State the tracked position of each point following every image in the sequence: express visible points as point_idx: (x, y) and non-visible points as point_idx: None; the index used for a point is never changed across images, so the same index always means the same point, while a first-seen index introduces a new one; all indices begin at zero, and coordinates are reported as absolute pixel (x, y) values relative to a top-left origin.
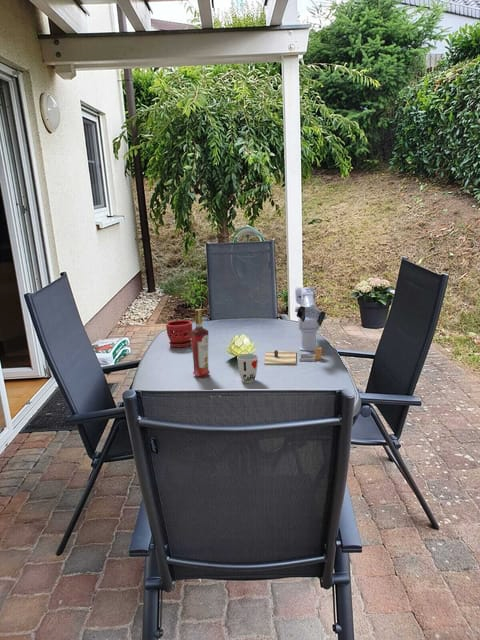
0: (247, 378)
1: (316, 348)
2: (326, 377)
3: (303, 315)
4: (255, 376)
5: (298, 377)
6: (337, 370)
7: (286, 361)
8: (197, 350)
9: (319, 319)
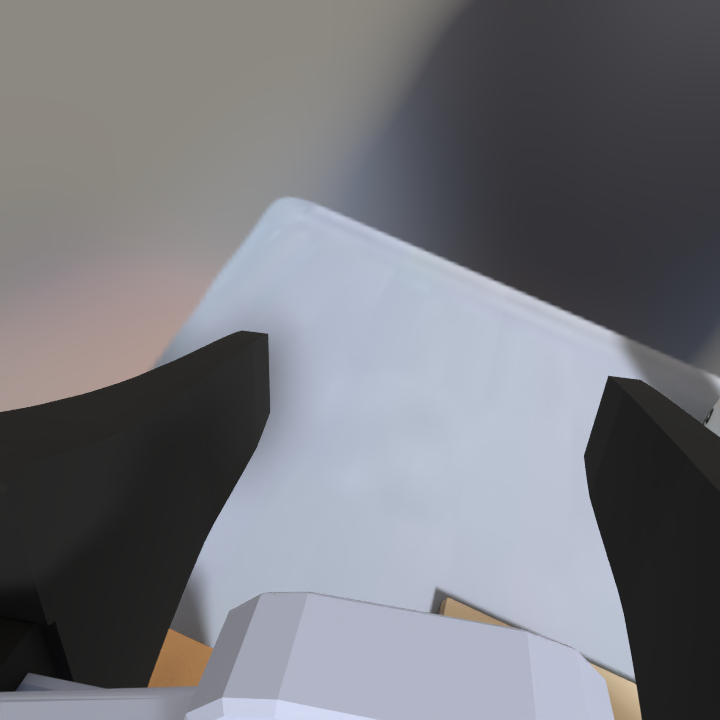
0: None
1: (198, 680)
2: (323, 318)
3: (681, 410)
4: (708, 415)
5: (472, 382)
6: None
7: None
8: None
9: (181, 493)
